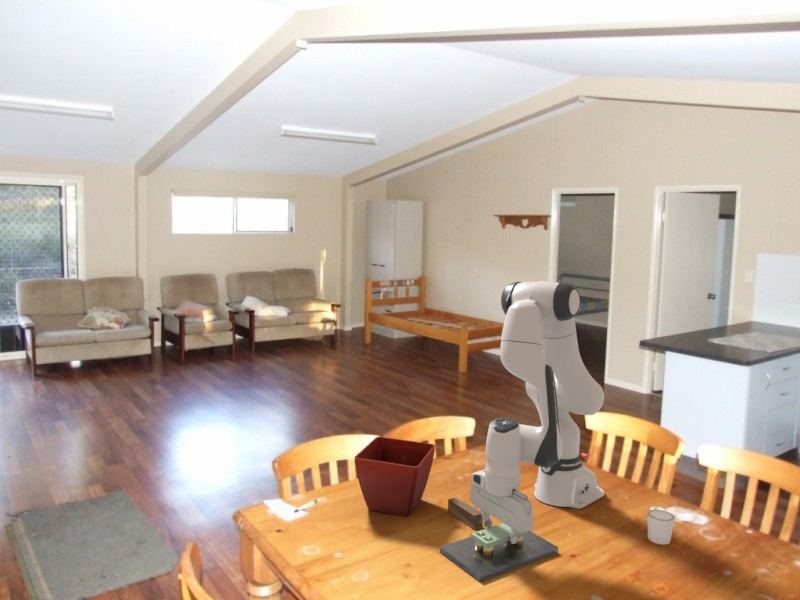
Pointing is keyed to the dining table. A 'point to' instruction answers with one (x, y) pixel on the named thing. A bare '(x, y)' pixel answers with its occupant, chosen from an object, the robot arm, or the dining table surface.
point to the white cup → (660, 526)
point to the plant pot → (394, 474)
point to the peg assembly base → (497, 555)
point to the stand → (465, 513)
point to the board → (494, 535)
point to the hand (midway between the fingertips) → (499, 534)
